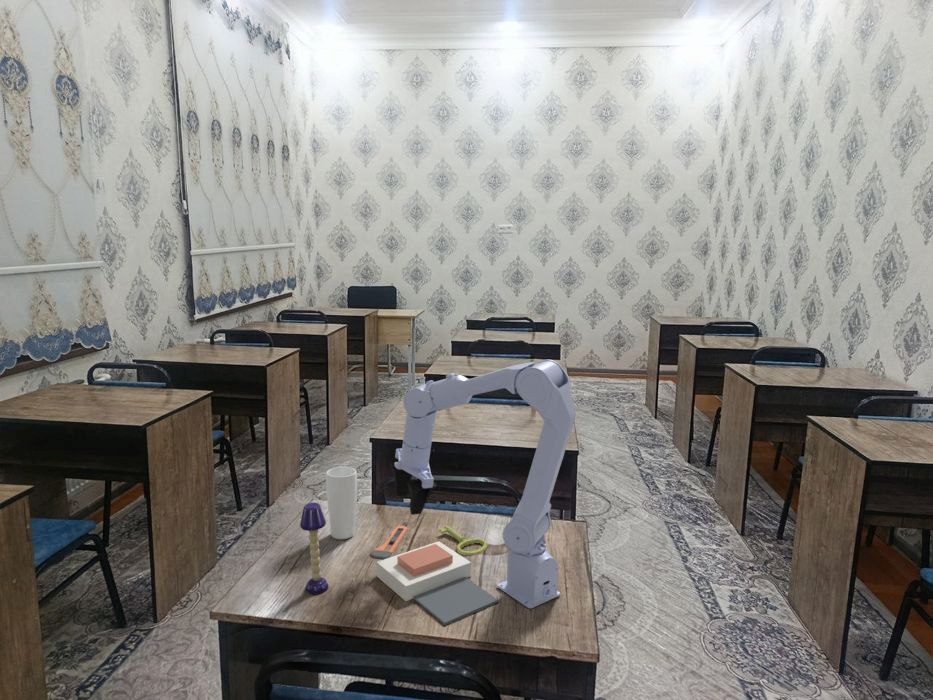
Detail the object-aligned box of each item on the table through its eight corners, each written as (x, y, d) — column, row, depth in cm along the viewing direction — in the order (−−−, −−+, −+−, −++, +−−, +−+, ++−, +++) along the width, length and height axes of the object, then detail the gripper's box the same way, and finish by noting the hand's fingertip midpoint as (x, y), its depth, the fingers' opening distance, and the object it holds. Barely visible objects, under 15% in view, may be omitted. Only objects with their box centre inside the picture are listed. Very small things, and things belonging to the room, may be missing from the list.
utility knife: (368, 554, 130) (394, 518, 148) (368, 558, 130) (394, 522, 148) (388, 556, 130) (412, 520, 147) (388, 561, 130) (412, 524, 147)
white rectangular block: (470, 576, 123) (470, 562, 123) (405, 601, 114) (405, 586, 114) (439, 554, 132) (439, 541, 132) (376, 576, 123) (376, 561, 123)
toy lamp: (302, 596, 116) (299, 511, 113) (302, 583, 120) (299, 501, 117) (329, 592, 117) (326, 508, 114) (327, 580, 121) (325, 498, 119)
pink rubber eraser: (452, 562, 123) (452, 555, 122) (413, 576, 117) (413, 569, 117) (435, 550, 127) (435, 543, 127) (397, 563, 122) (397, 556, 122)
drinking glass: (321, 539, 138) (319, 475, 136) (336, 526, 144) (335, 464, 142) (349, 544, 136) (348, 478, 134) (363, 530, 142) (362, 468, 140)
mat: (498, 602, 114) (498, 599, 114) (444, 625, 107) (444, 622, 107) (465, 579, 122) (465, 576, 122) (413, 599, 115) (413, 596, 115)
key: (445, 532, 143) (445, 523, 143) (491, 547, 136) (491, 538, 136) (426, 544, 137) (426, 535, 137) (473, 560, 131) (473, 551, 130)
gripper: (385, 429, 129) (377, 489, 132) (413, 459, 117) (404, 524, 120) (416, 428, 133) (407, 486, 136) (446, 456, 120) (436, 520, 124)
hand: (408, 504), depth 128 cm, fingers open, 7 cm apart
